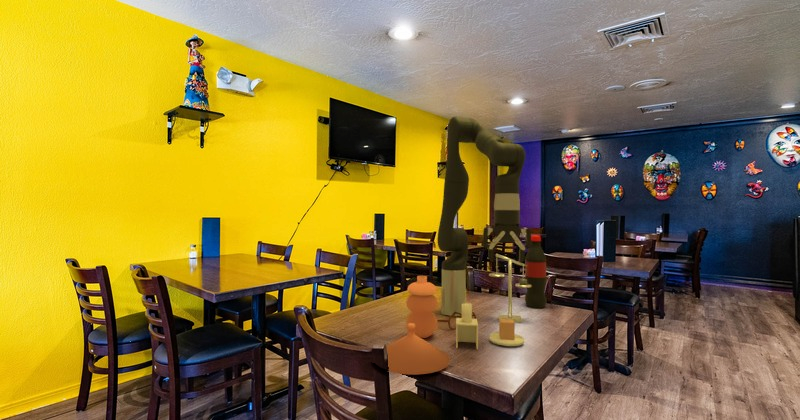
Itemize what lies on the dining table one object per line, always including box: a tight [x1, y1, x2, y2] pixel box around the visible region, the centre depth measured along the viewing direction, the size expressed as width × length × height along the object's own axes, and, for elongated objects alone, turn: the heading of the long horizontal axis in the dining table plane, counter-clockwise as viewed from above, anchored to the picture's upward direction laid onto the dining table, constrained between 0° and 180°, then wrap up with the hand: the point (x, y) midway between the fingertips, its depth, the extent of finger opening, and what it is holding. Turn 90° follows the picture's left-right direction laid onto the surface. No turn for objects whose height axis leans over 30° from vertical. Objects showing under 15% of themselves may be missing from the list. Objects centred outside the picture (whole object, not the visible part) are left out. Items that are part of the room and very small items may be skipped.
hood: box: [455, 302, 479, 350], centre depth 112 cm, size 6×6×12 cm
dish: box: [489, 331, 525, 347], centre depth 115 cm, size 10×10×2 cm
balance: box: [488, 253, 531, 323], centre depth 139 cm, size 15×6×24 cm, turn 82°
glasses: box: [437, 311, 477, 331], centre depth 135 cm, size 13×13×5 cm
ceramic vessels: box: [386, 275, 451, 376], centre depth 109 cm, size 35×21×19 cm, turn 168°
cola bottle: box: [524, 235, 547, 309], centre depth 159 cm, size 8×8×30 cm
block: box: [498, 319, 516, 340], centre depth 115 cm, size 4×4×5 cm
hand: (506, 262), depth 115 cm, fingers open, 8 cm apart
